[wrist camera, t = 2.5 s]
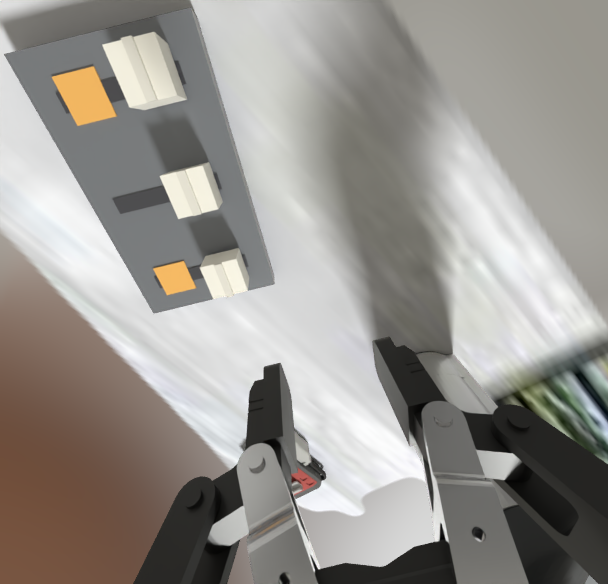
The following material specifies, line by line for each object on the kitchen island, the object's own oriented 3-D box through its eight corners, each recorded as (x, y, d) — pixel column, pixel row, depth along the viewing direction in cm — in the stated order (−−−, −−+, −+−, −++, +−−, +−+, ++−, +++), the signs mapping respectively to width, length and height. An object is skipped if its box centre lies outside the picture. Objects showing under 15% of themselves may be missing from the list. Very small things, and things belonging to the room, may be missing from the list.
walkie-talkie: (335, 462, 48) (260, 398, 38) (341, 491, 44) (259, 428, 35) (292, 484, 49) (210, 427, 40) (294, 514, 45) (204, 459, 36)
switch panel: (197, 18, 20) (190, 6, 18) (274, 275, 29) (274, 284, 28) (27, 61, 20) (2, 53, 18) (160, 302, 30) (153, 314, 28)
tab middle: (208, 162, 22) (201, 165, 19) (222, 202, 23) (217, 210, 21) (170, 171, 22) (158, 176, 19) (186, 210, 23) (177, 220, 21)
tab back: (238, 247, 25) (235, 260, 23) (249, 277, 27) (247, 292, 24) (205, 256, 25) (198, 269, 23) (217, 285, 27) (212, 300, 24)
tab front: (167, 43, 18) (152, 30, 16) (187, 99, 20) (175, 94, 17) (121, 55, 18) (99, 43, 16) (144, 110, 20) (127, 106, 17)
